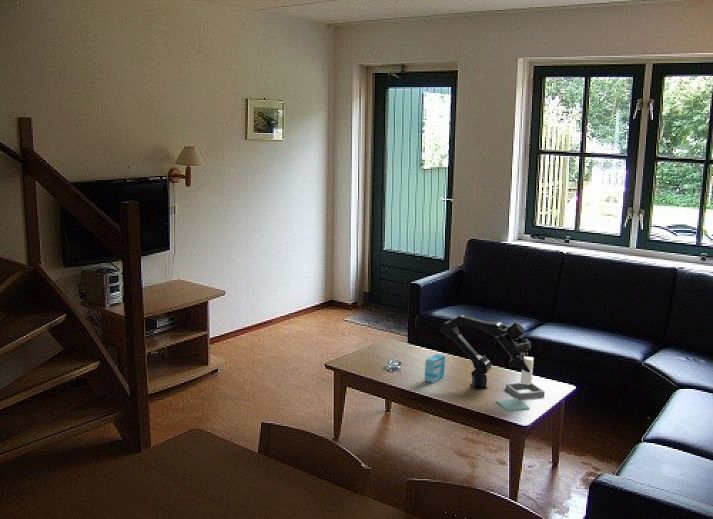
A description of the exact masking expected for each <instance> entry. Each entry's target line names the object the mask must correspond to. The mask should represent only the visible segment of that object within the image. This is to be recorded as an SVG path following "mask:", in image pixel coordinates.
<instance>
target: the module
mask: <svg viewBox="0 0 713 519" xmlns="http://www.w3.org/2000/svg"><path fill="white" fill-rule="evenodd" d="M523 358H524V362H525V364H526V365H527V367H528V369H529V370H530V372H526V371H524V370H522V369H521V374H520V383H521V384H526V385H530V384H531V383H533V381H532V380H533V370H534V360H535V359H534V358H535V357H533V356H528V355H527V356H524V357H523Z"/></svg>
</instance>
